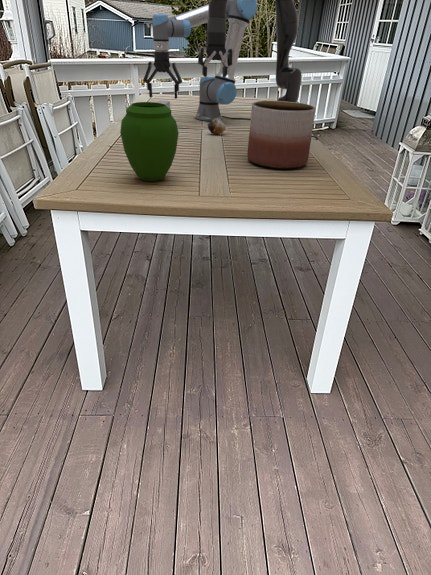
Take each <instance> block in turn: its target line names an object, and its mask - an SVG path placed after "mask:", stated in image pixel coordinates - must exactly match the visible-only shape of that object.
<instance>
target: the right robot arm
mask: <svg viewBox="0 0 431 575" xmlns="http://www.w3.org/2000/svg"><path fill="white" fill-rule="evenodd" d="M227 1H228V0H209V1H208V4H209V6H208V22H206V23H207V24H206V47H205V48H204V47H200V46H199V48H198V56H197V57H198V59H197V63H198V65H200V66H201V67H202V74H201V75H202V76H203V77H208V65H209V63H211V61H220V63H221V62H222V64H223V66H224V67H223V73H222V77H226V76H227V68H228V66H230V65H232V49H225V43H226V38H227V18H226V5H227ZM275 31H276V32H275V33H276V63H275V64H276V65H275V84H276V86H277V87H278V88H279V89H282V90H285V94H284V95H283V96H280V97H278V98H277V100H276V101H287V102H296V103H298V100H299V96H300V90H301V86H302V80H303V74H302V71H301V69H300V68H297V67H292V66H289V63H290V62H289V61H290V60H289V58H290V52H291V50H292V47H293V45H294V44H295V41H296V39H297V37H298V33H299V17H298V11H297V8H296V5H295V2H294V0H275ZM205 53H206V57H205V58H204V55H205ZM225 53H226V54H227V62H226V59H225V57H224V54H225ZM311 138H314V139H316V140H319V137H317V136H316V135H312V136H311Z"/></svg>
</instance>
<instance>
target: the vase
mask: <svg viewBox="0 0 431 575" xmlns="http://www.w3.org/2000/svg"><path fill="white" fill-rule="evenodd" d="M156 102H157V101H156ZM156 102H155V101H138V102H132V103H131V104H130V105H128V107H127V108H125V113H126V114H125V115H124V117H122V119H121V122H120V123H121V124H120V130H119V133H120V138H121V142H122V147H123V150H124V154H125V155H126V158H127V160H128V163H129V165H130V167H131V168H132V170H133V172H134V173H135V175H136V176H137V177H138V178H139V179H141V180H143V181H145V182H159V181H161V180H163V179H164V178H165V176H166V175H167V174H168V173H169V170H170V169H171V167H172V165H173V162H174V159H175V157H176V156H175V155H176V153H177V147H178V140H179V129H178V122H177V120H176V119H175V117H174V116H173V115H172V109H171V108H170V109H169V108H168V107H167V106H166V105H165V104H162V103H156Z"/></svg>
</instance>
